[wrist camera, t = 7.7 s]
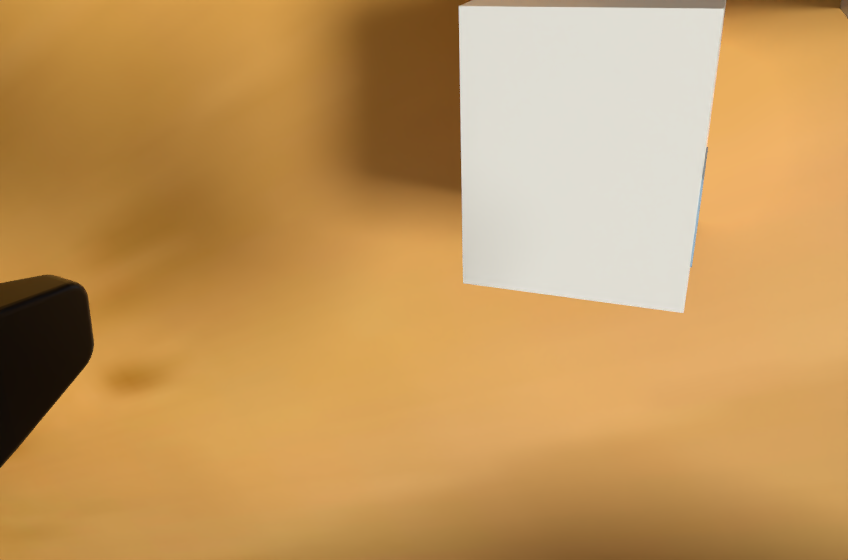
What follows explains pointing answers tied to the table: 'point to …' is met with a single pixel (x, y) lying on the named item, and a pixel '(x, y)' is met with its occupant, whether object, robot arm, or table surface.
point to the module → (586, 144)
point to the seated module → (844, 7)
